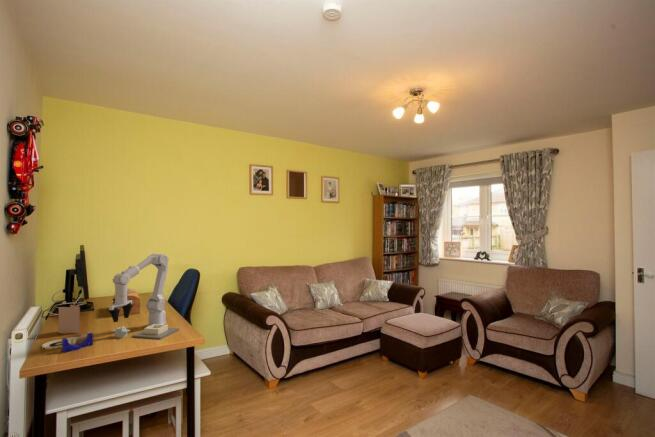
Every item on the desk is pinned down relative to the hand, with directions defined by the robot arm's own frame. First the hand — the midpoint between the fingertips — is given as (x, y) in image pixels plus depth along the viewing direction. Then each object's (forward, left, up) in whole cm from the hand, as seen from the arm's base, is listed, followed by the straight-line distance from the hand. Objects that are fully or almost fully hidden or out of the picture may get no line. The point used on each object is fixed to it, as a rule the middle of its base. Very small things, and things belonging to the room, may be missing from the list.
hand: (121, 319), depth 183 cm
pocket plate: (-8, +16, -9) cm, 20 cm away
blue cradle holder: (+19, -8, -10) cm, 22 cm away
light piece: (+14, -20, -10) cm, 26 cm away
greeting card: (0, -35, -10) cm, 37 cm away
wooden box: (-49, -43, -10) cm, 66 cm away
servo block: (0, 0, -10) cm, 10 cm away
